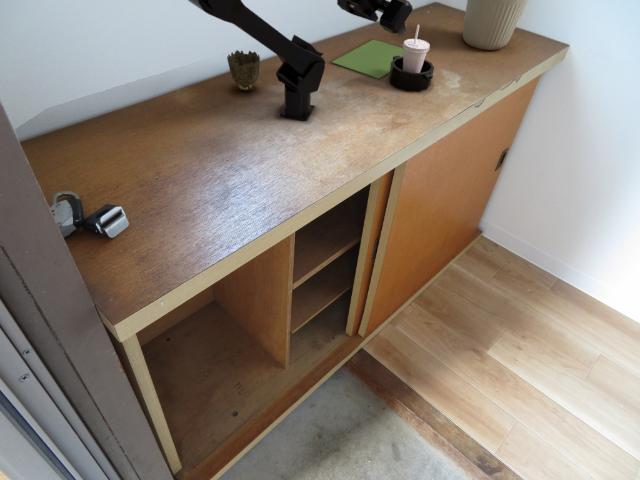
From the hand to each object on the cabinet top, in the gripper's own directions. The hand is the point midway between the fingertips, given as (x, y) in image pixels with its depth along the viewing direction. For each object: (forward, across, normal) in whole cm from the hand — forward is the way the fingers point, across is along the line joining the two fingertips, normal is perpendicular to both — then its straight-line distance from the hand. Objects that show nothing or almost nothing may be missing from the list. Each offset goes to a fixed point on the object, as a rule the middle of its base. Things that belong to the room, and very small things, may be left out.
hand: (390, 26), depth 101 cm
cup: (-14, +16, +30) cm, 37 cm away
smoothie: (+15, -2, +6) cm, 16 cm away
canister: (+45, +4, -19) cm, 49 cm away
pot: (+15, -2, +6) cm, 16 cm away
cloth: (+17, +13, +4) cm, 22 cm away
